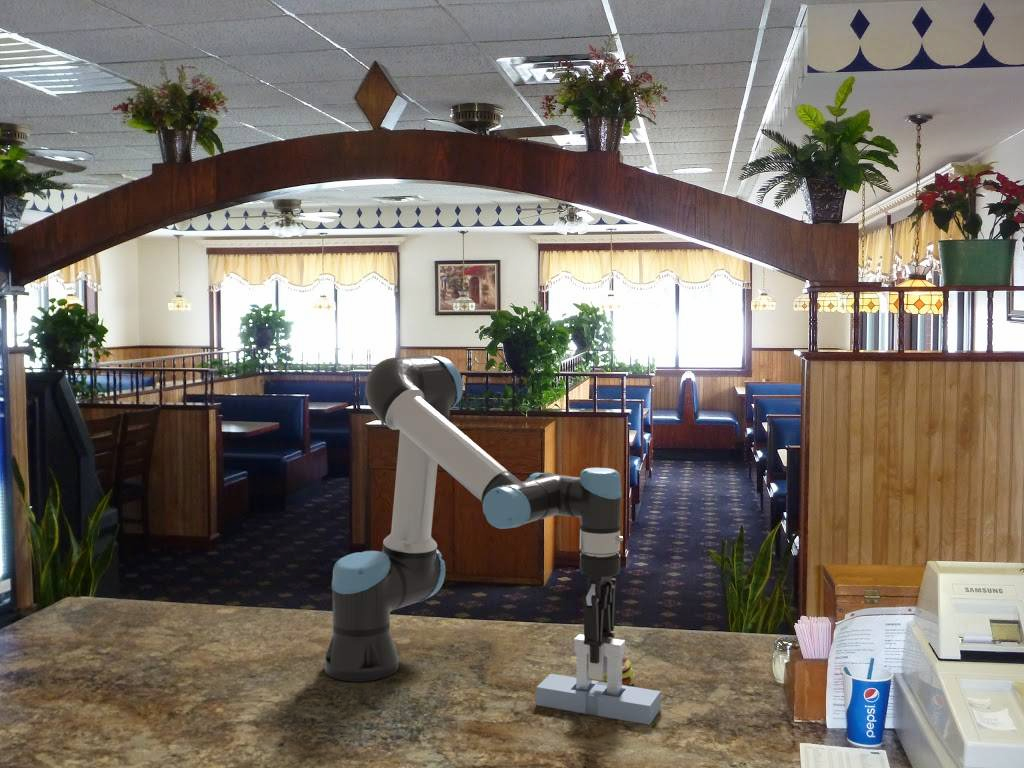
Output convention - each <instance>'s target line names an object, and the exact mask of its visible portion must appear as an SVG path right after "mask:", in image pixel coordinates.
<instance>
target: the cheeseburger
mask: <svg viewBox="0 0 1024 768" xmlns="http://www.w3.org/2000/svg"><path fill="white" fill-rule="evenodd" d="M592 680H594V681H600V682H606V683H607V673H604V677H603V680H597V679H592ZM635 680H636V676H635V673H634V669H633V667H632V662H631V661H630V660H629V659H627V657H626V656H624V655H623V656H622V685H625V686H632V685H633V684H634V682H635Z"/></svg>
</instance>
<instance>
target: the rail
mask: <svg viewBox="0 0 1024 768" xmlns="http://www.w3.org/2000/svg"><path fill="white" fill-rule="evenodd" d="M535 690H536V695H535V696H536V699H535V701H536V706H540V707H545V708H550V709H551V708H552V709H557V710H561V711H562V710H563V711H569V712H575V713H581V714H586V715H591V716H592V715H593V716H597V717H604V718H609V719H615V720H620V721H626V722H631V723H632V722H633V723H637V724H642V725H649V726H650V725H651V723H652V722H653V721H654V719H655V718H656V717H657V715H658V713H659V712H660V710H661V700H662V699H661V695H662V692H661V690H656V689H655V690H654V689H650V688H649V689H647V688H642V687H635V686H632V685H627V686H625V685H622V690H621V691H620V693H619V694H618V695H613V694H607V683H606V682H600V681H594V680H592V685H591V686H590V687H589V688H588V689H587V690H582V689H576V677H574V676H567V675H562V674H555V673H550V674H548V676H546V677H545V679H543V680H542V681H541V682H540V683H539V684H538V685H536V689H535Z"/></svg>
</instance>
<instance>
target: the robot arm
mask: <svg viewBox="0 0 1024 768" xmlns="http://www.w3.org/2000/svg"><path fill="white" fill-rule="evenodd" d="M463 387H464V385H463V379H462V375H461V373H460V371H459V370H458V369H457V367H456V365H455V364H454V363H453V362H452V361H451V360H450V359H448V358H446V357H444V356H440V355H428V354H424V355H413V356H403V357H398V356H397V357H390V358H389V357H388V358H386V359H383V360H382V361H380V362H379V363H377V364H376V365H375V366H374V367H373V368H371V371H370V372H369V374H368V375H367V379H366V381H365V389H364V390H365V397H366V401H367V404H368V406H369V408H370V410H372V412H373V414H374V415H375V416H376V417H377V418H378V419H379V420H380V421H381V422H382V423H383V424H384V425H386V426H387V427H388V428H389V429H390V430H393V431H394V430H395V431H396V430H399V436H398V437H399V439H398V447H397V448H398V451H397V460H396V471H395V485H394V496H393V507H392V518H391V519H392V520H391V531H390V534H389V535H387V536H386V537H385V538H384V539H383V541H382V542H383V543H382V551H378V550H364V551H362V552H359V551H358V552H353V553H350V554H347V555H345V556H343V557H341V558H340V559H338V560H337V561H336V562H335V564H334V566H333V567H332V568H333V569H332V580H331V590H332V591H331V594H332V595H331V596H332V635H331V639H330V642H329V645H328V647H327V651H326V654H325V658H324V672H325V674H326V675H327V676H328V677H330V678H333V679H334V680H335V679H336V680H340V681H345V682H371V681H376V680H380V679H383V678H387V677H389V676H391V675H393V674H395V673H396V672H397V671H398V669H399V655H398V652H397V649H396V645H395V642H394V639H393V635H392V634H391V618H390V617H391V616H390V615H391V612H393V611H395V610H398V609H401V608H403V607H407V606H410V605H412V604H413V605H414V604H418V603H421V602H423V601H425V600H427V599H429V598H430V597H433V596H434V595H435V594H437V593H438V592H439V591H440V589H441V588H442V587H443V586H442V585H443V584H444V581H445V578H446V564H445V560H444V559H442V557H443V555H442V553H441V551H440V550H439V549H438V544H437V541H435V539H434V538H433V537H432V529H433V517H434V516H433V515H434V506H435V496H436V495H435V494H436V486H437V484H436V483H437V475H438V474H437V472H438V465H439V466H441V468H442V469H444V470H445V471H446V472H447V473H448V474H449V475H451V477H453V478H454V480H456V481H457V482H458V483H460V484H461V485H462V486H463V487H464V488H466V490H468V491H469V492H470V493H471V494H472V495H473V496H474V497H475V498H476V499H478V500H479V501H480V502H481V503H482V511H483V512H482V513H483V514H484V516H485V518H486V521H487V522H488V524H490V525H491V527H494V528H497V529H499V530H501V529H502V530H504V529H506V530H507V529H512V528H519V527H521V526H524V525H526V524H529V523H532V522H535V521H539V520H544V519H547V518H551V517H553V516H565V517H571V518H572V517H573V518H579V550H580V551H581V553H580V554H579V572H580V573H581V574H582V575H584V576H585V575H586V577H588V583H587V584H586V593H587V594H586V593H582V595H581V601H582V604H583V605H582V606H583V635H584V644H586V645H589V662H588V678H591V679H597V680H603V677H604V673H607V657H606V656H604V645H602V637H604V638H611V639H615V636H616V635H615V634H616V633H614V632H613V631H614V629H615V609H616V608H615V604H616V600H615V599H616V588H617V578H613V577H615V576H617V575H618V574H620V572H621V554H620V553H619V552H620V551H621V542H623V541H624V537H623V536H622V535H621V515H622V514H621V507H622V496H623V493H622V487H621V486H622V484H621V483H622V482H621V475H620V473H619V472H618V470H616V469H614V468H608V467H587V468H585V469H582V470H581V472H580V475H579V477H577V476H570V475H564V474H563V475H561V474H555V473H552V472H534V473H532V474H530V475H529V477H528V478H527V479H526V480H525V481H521V480H520V479H518V478H517V477H516V476H515V475H514V474H512V473H511V472H510V471H508V470H507V469H506V468H505V467H504V466H503V465H502V464H500V463H499V462H498V461H497V460H495V459H494V457H492V456H491V455H490V454H489V453H487V451H485V450H484V449H482V447H480V446H479V445H478V444H477V443H476V442H474V441H473V440H472V439H471V438H470V437H469V436H468V435H466V434H465V433H464V432H463V431H461V430H460V429H459V428H458V427H457V426H456V425H455V424H453V423H452V422H451V421H450V410H451V409H453V408H454V407H455V406H457V404H458V403H460V400H461V399H462V397H463V391H464V390H463V389H464V388H463Z"/></svg>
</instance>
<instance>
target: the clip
mask: <svg viewBox="0 0 1024 768" xmlns="http://www.w3.org/2000/svg"><path fill="white" fill-rule="evenodd" d="M573 641H574V643H573V652H574V653H576V671H575V672H576V677H575V678H576V689H582V690H587V689H588V688H589V687H590V686H591V685H592V679H591V678H588V662H589V645H586V644H584V634H581V633H579V634H578V635H576V637H574V639H573ZM602 645H604V656H606V657H607V694H613V695H618V694H619V693H620V691H621V690H622V656H623V657H624V656H625V654H626V640H625V639H617V638H610V637H608V638H604V637H602Z"/></svg>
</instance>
